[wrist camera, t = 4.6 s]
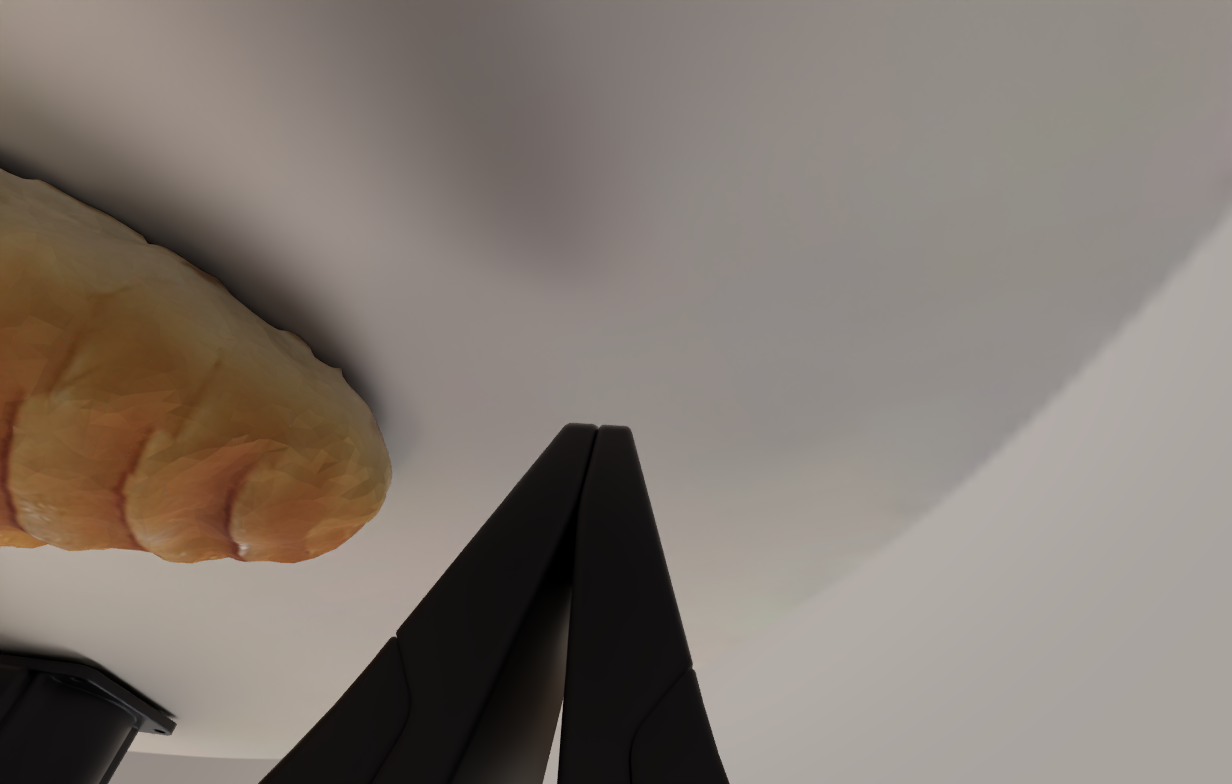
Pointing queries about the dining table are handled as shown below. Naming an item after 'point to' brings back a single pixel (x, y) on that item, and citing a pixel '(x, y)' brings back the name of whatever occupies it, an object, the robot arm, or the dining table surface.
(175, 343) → the pastry
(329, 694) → the dining table surface
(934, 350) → the dining table surface
